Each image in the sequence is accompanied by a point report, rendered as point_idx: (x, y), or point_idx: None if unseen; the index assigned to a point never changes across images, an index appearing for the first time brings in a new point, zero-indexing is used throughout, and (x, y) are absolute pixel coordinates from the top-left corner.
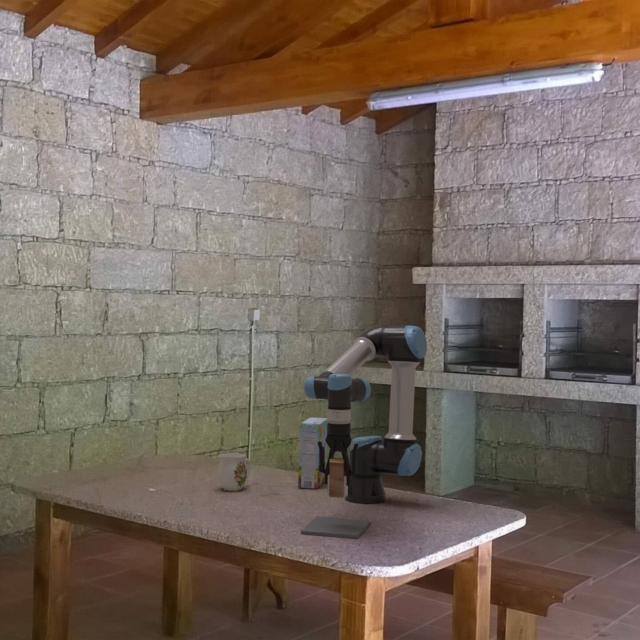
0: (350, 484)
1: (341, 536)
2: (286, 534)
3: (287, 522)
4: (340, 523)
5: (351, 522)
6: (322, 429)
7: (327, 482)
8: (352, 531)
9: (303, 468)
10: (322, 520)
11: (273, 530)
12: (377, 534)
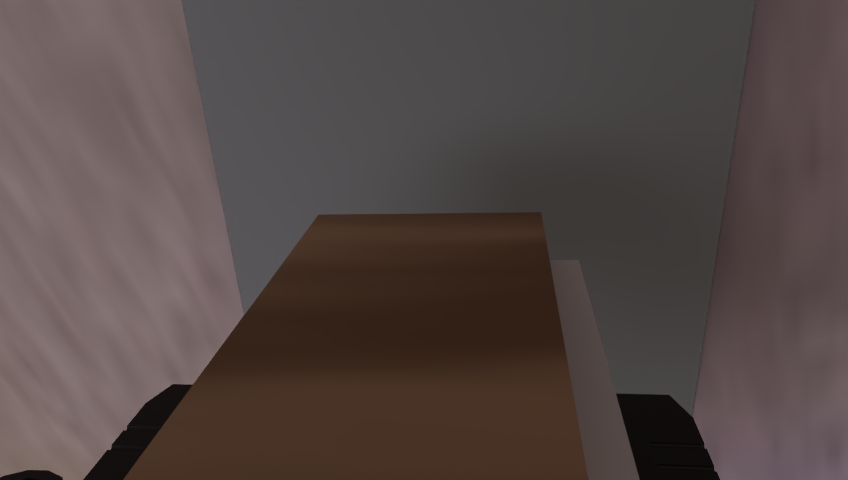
0: (679, 415)
1: None
2: None
3: (15, 120)
4: (475, 115)
5: (572, 38)
6: None
7: None
8: (633, 340)
9: None
10: (280, 60)
11: (70, 362)
12: (842, 261)
